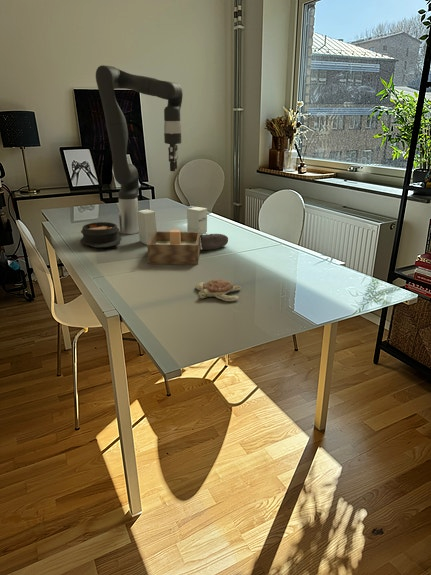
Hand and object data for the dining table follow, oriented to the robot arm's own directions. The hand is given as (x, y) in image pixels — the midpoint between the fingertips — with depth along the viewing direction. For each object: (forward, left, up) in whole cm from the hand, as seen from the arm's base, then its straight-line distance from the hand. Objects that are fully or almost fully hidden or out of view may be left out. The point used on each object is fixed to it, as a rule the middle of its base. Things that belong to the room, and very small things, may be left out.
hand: (173, 170), depth 192 cm
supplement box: (+10, +10, -32) cm, 35 cm away
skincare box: (-12, -8, -32) cm, 35 cm away
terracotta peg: (+3, -28, -31) cm, 42 cm away
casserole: (-33, -11, -32) cm, 48 cm away
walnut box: (+3, -28, -32) cm, 43 cm away
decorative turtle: (+21, -67, -33) cm, 77 cm away
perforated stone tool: (+19, -16, -32) cm, 41 cm away
